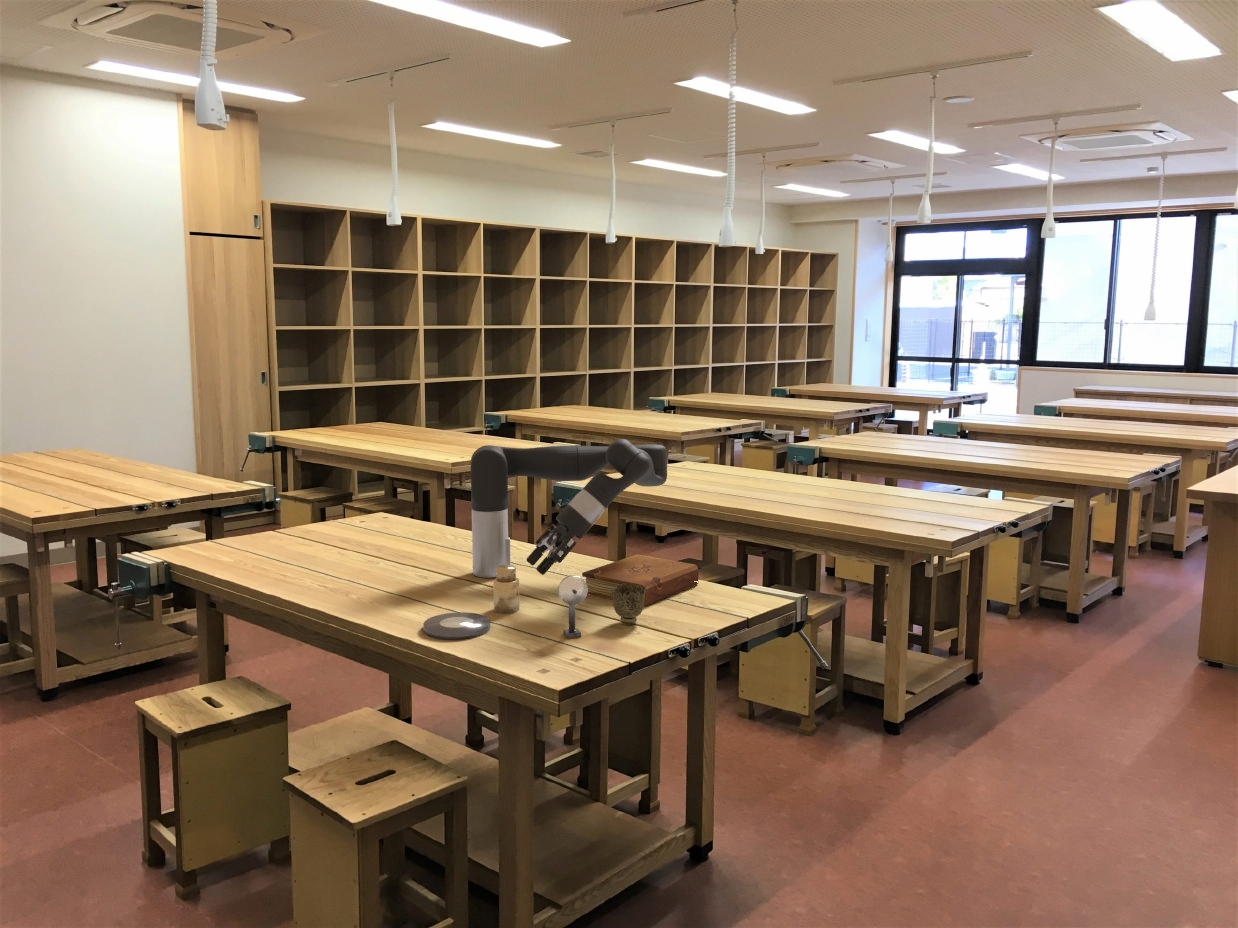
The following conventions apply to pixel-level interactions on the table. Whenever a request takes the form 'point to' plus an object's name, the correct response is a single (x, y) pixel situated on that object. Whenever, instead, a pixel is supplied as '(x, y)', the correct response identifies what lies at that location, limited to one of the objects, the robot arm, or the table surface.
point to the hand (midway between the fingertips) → (534, 567)
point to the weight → (506, 590)
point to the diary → (642, 577)
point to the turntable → (456, 626)
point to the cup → (628, 602)
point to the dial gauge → (572, 600)
